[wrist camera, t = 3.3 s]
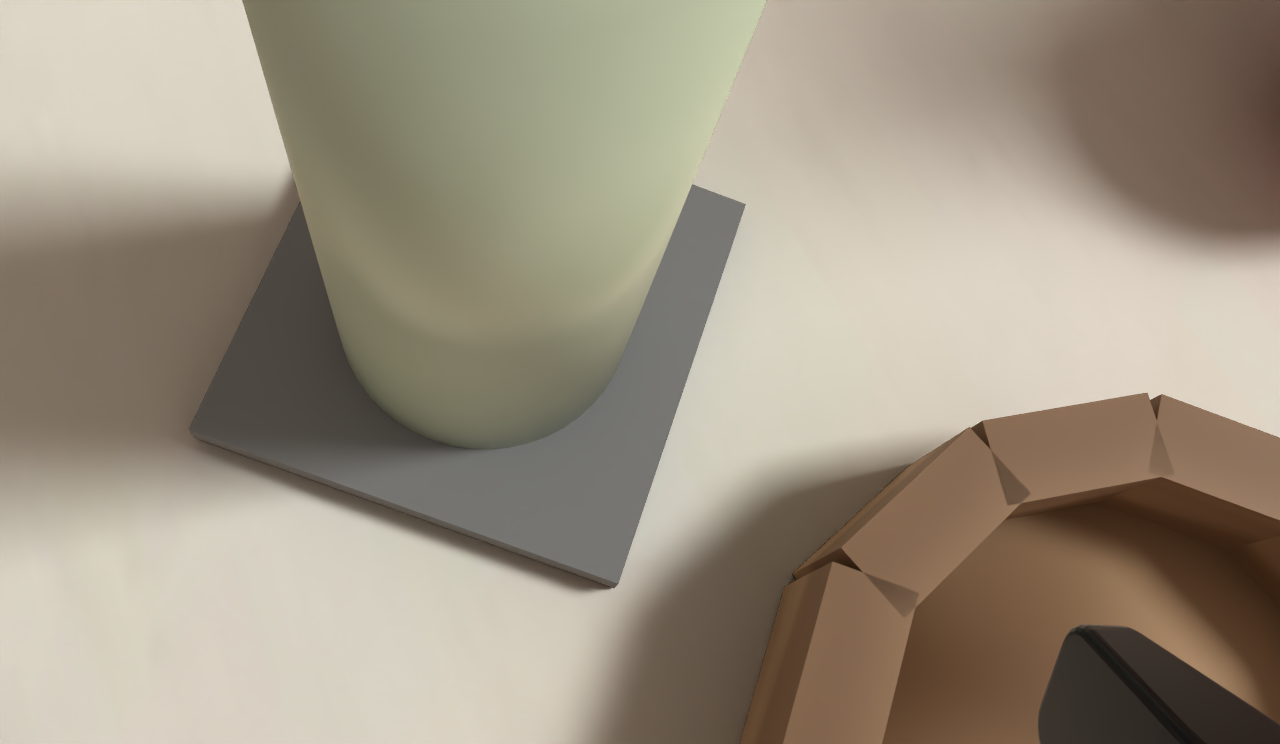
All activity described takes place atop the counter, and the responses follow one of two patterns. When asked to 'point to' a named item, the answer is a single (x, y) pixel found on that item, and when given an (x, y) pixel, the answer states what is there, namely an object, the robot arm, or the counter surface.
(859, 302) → the counter surface
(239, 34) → the counter surface
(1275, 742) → the robot arm
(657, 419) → the mat
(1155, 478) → the bowl
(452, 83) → the candle
